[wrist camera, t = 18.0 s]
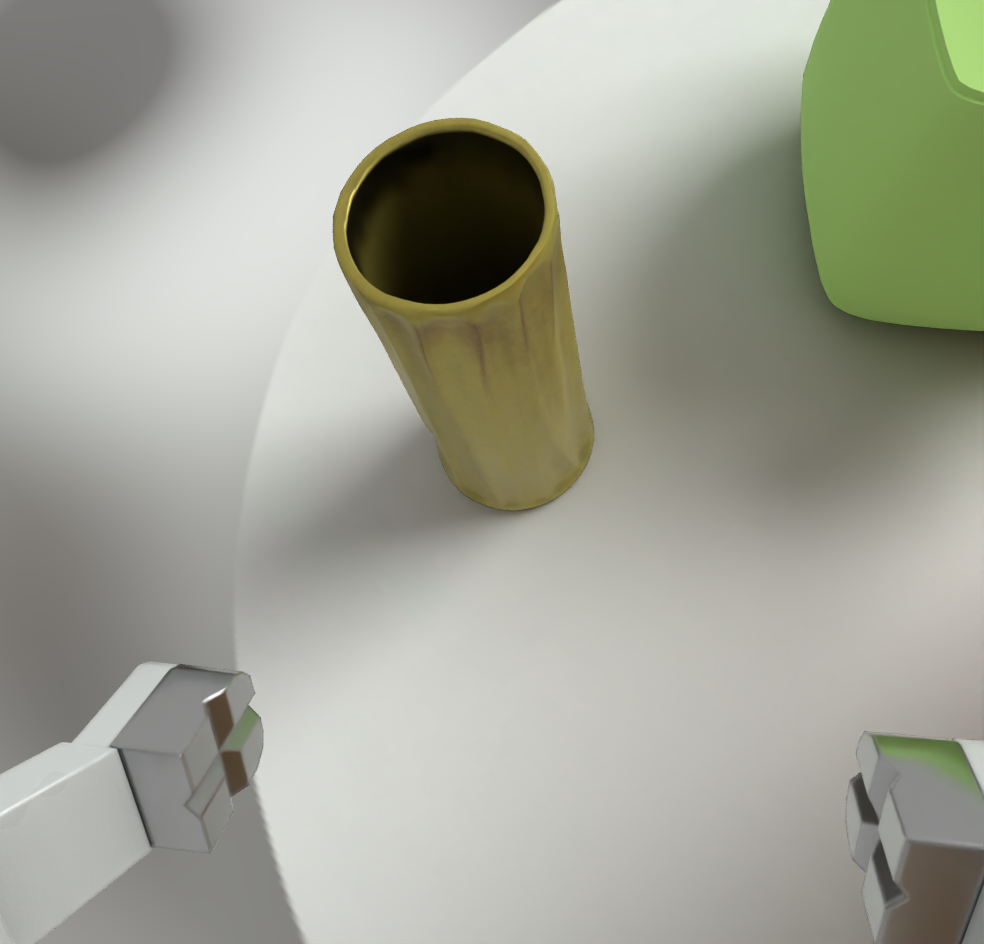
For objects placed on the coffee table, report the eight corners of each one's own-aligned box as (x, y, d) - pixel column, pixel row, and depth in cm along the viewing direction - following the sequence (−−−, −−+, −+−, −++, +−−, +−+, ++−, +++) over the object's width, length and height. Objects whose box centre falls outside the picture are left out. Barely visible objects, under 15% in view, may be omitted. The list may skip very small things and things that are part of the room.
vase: (549, 341, 32) (504, 60, 19) (623, 466, 30) (630, 251, 17) (415, 408, 32) (274, 175, 19) (479, 539, 30) (371, 381, 17)
